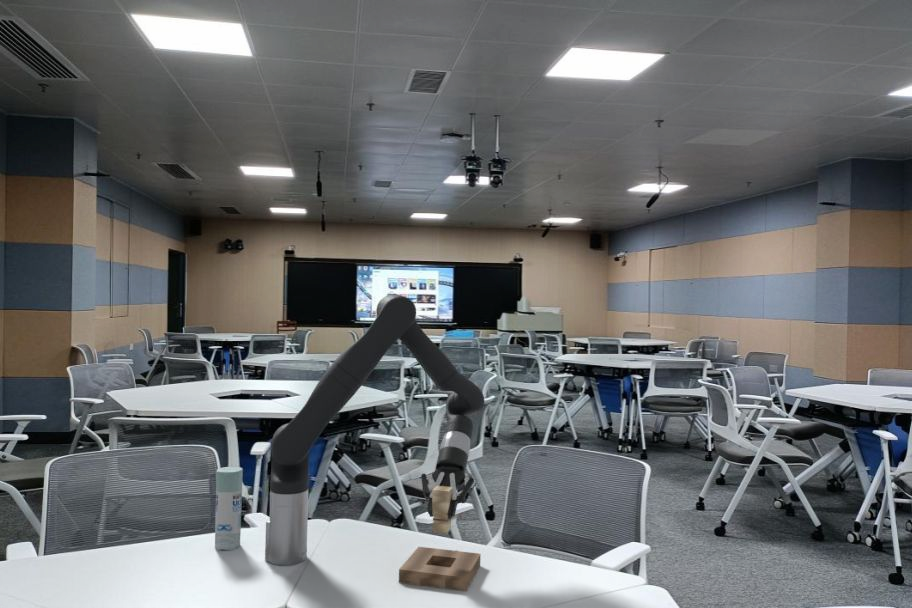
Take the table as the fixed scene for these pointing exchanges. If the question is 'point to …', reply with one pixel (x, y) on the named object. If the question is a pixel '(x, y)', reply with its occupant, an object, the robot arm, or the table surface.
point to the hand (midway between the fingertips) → (440, 515)
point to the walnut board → (440, 568)
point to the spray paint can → (228, 508)
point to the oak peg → (441, 508)
